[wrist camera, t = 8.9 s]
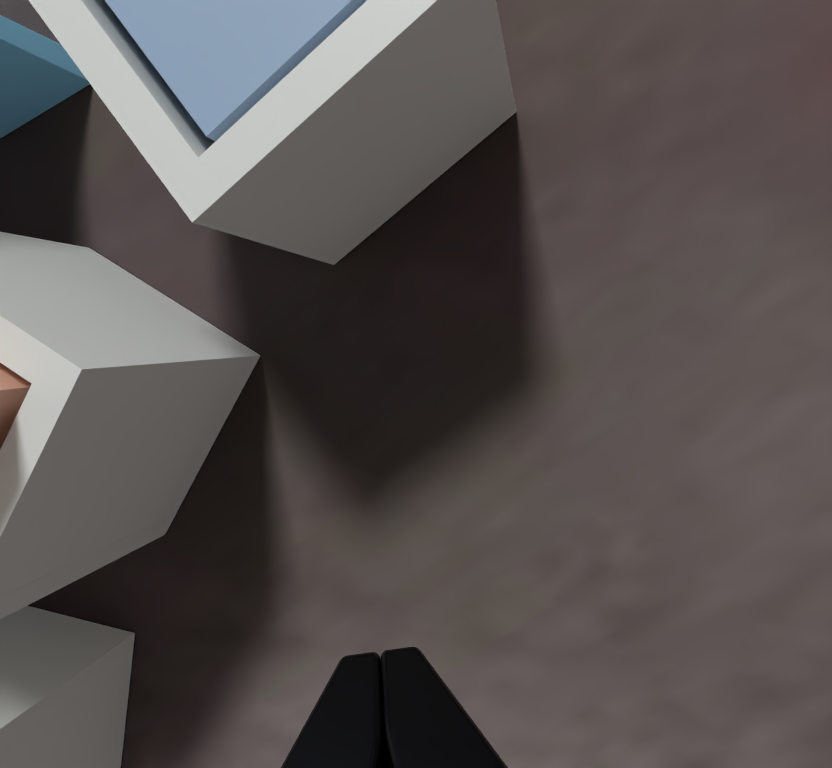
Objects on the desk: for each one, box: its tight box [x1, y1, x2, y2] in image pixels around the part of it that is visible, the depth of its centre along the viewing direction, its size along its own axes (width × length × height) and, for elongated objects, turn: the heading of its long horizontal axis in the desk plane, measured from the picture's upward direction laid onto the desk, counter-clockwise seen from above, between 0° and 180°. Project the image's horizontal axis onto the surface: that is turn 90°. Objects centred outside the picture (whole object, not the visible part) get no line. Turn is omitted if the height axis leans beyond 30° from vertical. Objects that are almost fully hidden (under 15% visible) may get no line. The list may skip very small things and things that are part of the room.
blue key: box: [105, 0, 367, 142], centre depth 15 cm, size 4×4×7 cm
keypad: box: [0, 0, 516, 768], centre depth 18 cm, size 11×30×8 cm, turn 156°
